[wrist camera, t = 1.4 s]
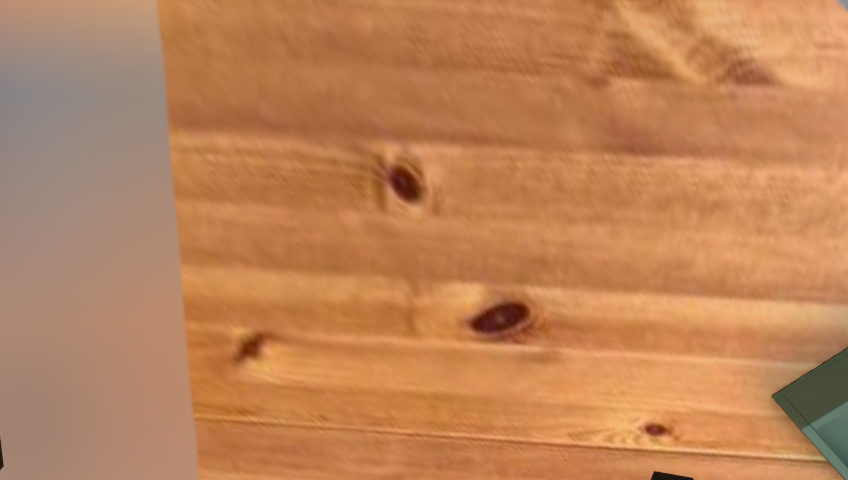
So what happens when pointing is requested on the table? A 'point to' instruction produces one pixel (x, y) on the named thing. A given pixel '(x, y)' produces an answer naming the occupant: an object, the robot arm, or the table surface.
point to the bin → (822, 409)
